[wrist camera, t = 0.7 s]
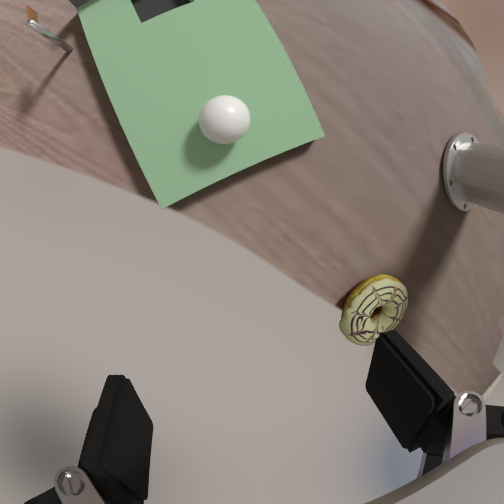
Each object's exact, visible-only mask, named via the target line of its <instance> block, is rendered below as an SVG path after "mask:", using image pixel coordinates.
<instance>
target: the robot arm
mask: <svg viewBox="0 0 504 504" xmlns="http://www.w3.org/2000/svg"><path fill="white" fill-rule="evenodd" d="M443 180H444V186H445V190H446V193H447V195H448V198H449V200H450V201H451V203H452V204H453V205H454V206H455V207H456V208H458V209H459V210H462V211H471V210H473V209H474V208H476V207H477V206H478V205H479V206H482V207H485V208H488V209H491V210H494V211H497V212H500V213H503V214H504V146H498V145H489V144H480V143H479V141H478V140H477V139H476V138H475V137H474V136H473V135H471V134H469V133H458V134H456V135H454V136H453V137H452V138H451V140H450V141H449V143H448V145H447V147H446V150H445V154H444V160H443ZM366 390H367V392H368V394H369V395H370V396H371V398H372V400H373V401H374V403H375V405H376V406H377V408H378V409H379V411H380V412H381V414H382V415H383V417H384V418H385V420H386V422H387V423H388V425H389V427H390V428H391V430H392V431H393V433H394V434H395V436H396V438H397V439H398V441H399V442H400V444H401V445H402V447H403V448H405V449H406V448H407V449H408V450H409V452H412V451H414V450H416V449H417V448H419V447H421V449H422V450H423V456H422V460H421V464H420V469H419V473H418V476H417V479H415V480H413V481H411V482H410V483H408V484H406V485H404V486H402V487H400V488H398V489H396V490H394V491H392V492H390V493H388V494H386V495H383V496H381V497H379V498H377V499H374V500H372V501H370V502H367V503H365V504H504V407H502V406H491V405H485V401H484V399H483V398H482V396H480V395H479V394H478V393H476V392H474V391H464V392H461V393H460V394H458V395H457V397H456V396H455V395H454V392H453V391H452V390H451V389H450V387H449V386H448V385H447V384H446V383H445V382H444V381H443V380H442V379H441V378H440V376H439V375H438V374H437V373H436V372H435V371H434V370H433V369H432V368H431V367H430V366H429V365H428V364H427V363H426V361H425V360H424V359H423V358H422V357H421V356H420V355H419V354H418V353H417V352H416V351H415V350H414V349H413V348H412V347H411V346H410V345H409V344H408V343H407V342H406V341H405V340H404V339H403V338H402V336H401V335H400V334H399V333H398V332H397V331H395V330H389V331H386V332H383V333H380V335H379V337H378V338H377V339H376V341H375V347H374V351H373V356H372V360H371V364H370V368H369V373H368V377H367V380H366ZM152 434H153V423H152V420H151V419H150V417H149V415H148V413H147V412H146V410H145V408H144V406H143V404H142V402H141V401H140V399H139V397H138V395H137V393H136V391H135V389H134V387H133V385H132V383H131V381H130V380H129V379H126V378H125V376H124V375H109V376H108V377H107V379H106V382H105V385H104V388H103V391H102V394H101V397H100V400H99V403H98V406H97V408H95V409H94V411H93V414H92V417H91V420H90V423H89V427H88V430H87V433H86V437H85V440H84V444H83V448H82V452H81V455H80V460H79V463H78V467H75V466H66V467H63V468H61V469H60V470H59V471H58V472H57V473H56V475H55V477H54V486H55V487H53V488H51V489H49V490H48V491H46V492H44V493H42V494H40V495H38V496H36V497H34V498H32V499H30V500H28V501H27V502H25V503H24V504H144V500H146V499H147V497H148V483H149V468H150V467H149V466H150V456H151V445H152Z"/></svg>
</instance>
